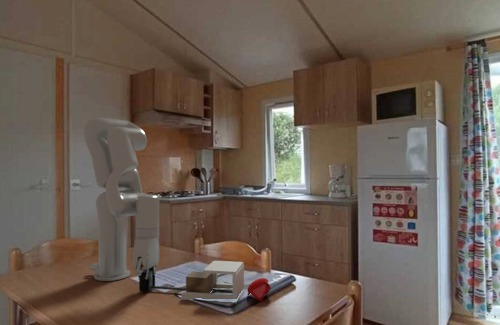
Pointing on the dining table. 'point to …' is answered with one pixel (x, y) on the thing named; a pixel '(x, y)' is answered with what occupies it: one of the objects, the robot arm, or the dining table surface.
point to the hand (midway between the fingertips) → (147, 288)
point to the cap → (259, 288)
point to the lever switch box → (221, 268)
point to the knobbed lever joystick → (190, 283)
